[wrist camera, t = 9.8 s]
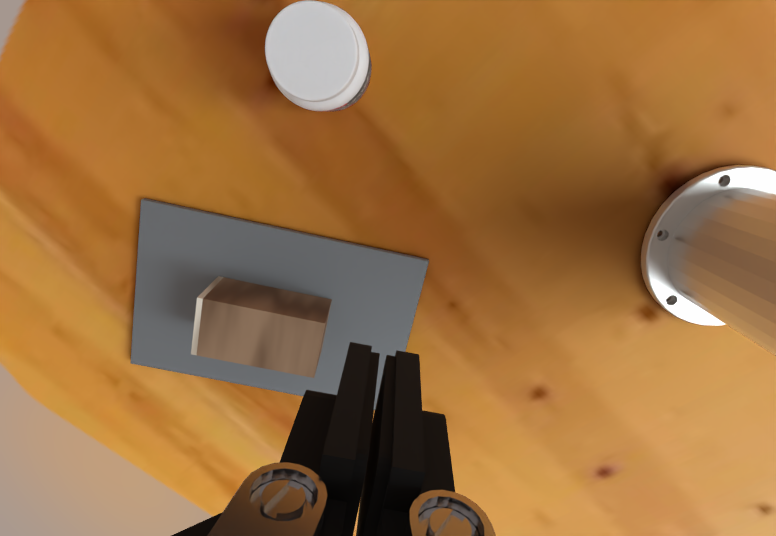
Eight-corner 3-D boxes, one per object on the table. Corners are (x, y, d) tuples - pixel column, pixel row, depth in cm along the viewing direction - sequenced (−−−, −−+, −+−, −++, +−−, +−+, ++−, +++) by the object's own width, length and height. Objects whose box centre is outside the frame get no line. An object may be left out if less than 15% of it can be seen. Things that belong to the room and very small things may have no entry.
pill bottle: (325, 128, 35) (303, 135, 25) (272, 60, 33) (228, 41, 24) (388, 75, 34) (389, 63, 24) (336, 3, 32) (316, -40, 23)
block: (218, 276, 38) (331, 299, 38) (212, 327, 39) (321, 349, 40) (196, 297, 33) (325, 323, 34) (190, 354, 35) (314, 378, 35)
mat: (428, 259, 38) (428, 261, 37) (389, 408, 42) (389, 412, 42) (145, 198, 36) (141, 199, 36) (134, 359, 41) (130, 363, 40)
